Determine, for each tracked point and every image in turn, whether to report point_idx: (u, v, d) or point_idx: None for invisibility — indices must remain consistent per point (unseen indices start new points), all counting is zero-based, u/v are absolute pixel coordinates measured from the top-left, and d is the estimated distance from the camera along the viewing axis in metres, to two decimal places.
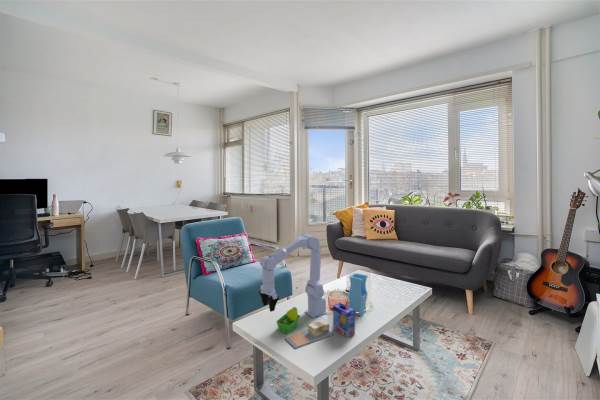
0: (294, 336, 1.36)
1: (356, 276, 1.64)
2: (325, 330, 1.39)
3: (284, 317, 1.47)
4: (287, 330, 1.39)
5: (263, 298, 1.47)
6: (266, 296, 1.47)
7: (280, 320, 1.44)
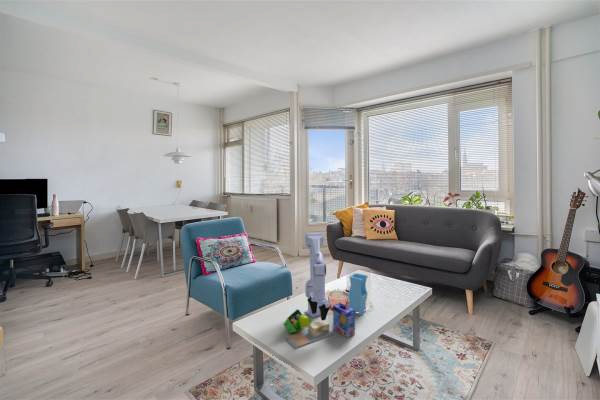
0: (294, 336, 1.36)
1: (356, 276, 1.64)
2: (325, 330, 1.39)
3: (293, 313, 1.45)
4: (291, 331, 1.38)
5: (312, 306, 1.41)
6: (315, 304, 1.42)
7: (290, 316, 1.41)
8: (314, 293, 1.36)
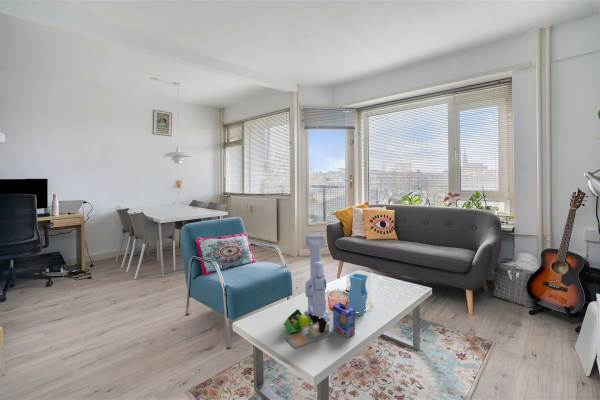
0: (294, 336, 1.36)
1: (356, 276, 1.64)
2: (325, 330, 1.39)
3: (293, 313, 1.45)
4: (291, 331, 1.38)
5: (314, 321, 1.41)
6: (316, 318, 1.42)
7: (290, 316, 1.41)
8: (314, 307, 1.37)
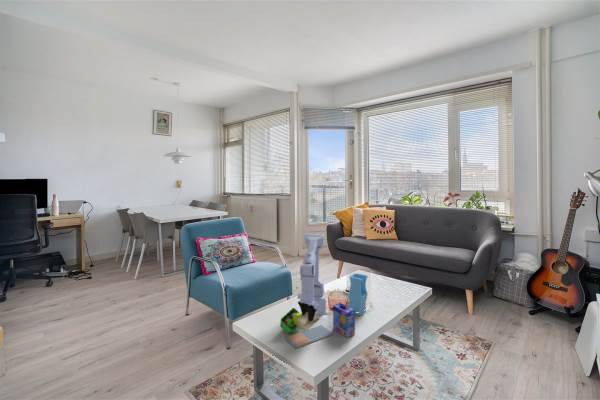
0: (294, 336, 1.36)
1: (356, 276, 1.64)
2: (315, 319, 1.35)
3: (289, 313, 1.44)
4: (287, 331, 1.38)
5: (303, 309, 1.36)
6: (306, 307, 1.37)
7: (284, 317, 1.41)
8: (303, 294, 1.33)
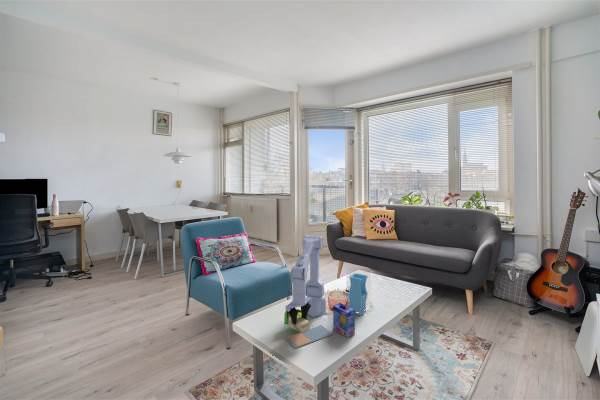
0: (294, 336, 1.36)
1: (356, 276, 1.64)
2: (298, 329, 1.30)
3: (299, 311, 1.46)
4: (285, 321, 1.41)
5: (302, 310, 1.35)
6: (304, 310, 1.34)
7: None
8: None
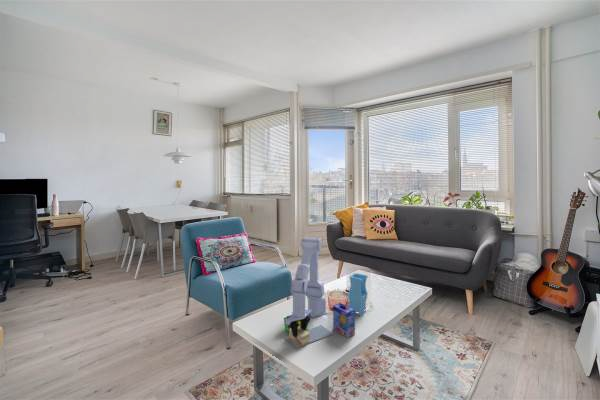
0: None
1: (356, 276, 1.64)
2: (299, 340, 1.31)
3: None
4: (286, 328, 1.42)
5: (301, 323, 1.36)
6: (303, 323, 1.35)
7: None
8: None
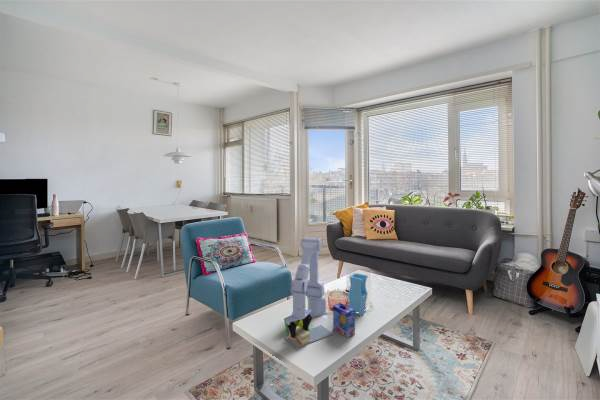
0: None
1: (356, 276, 1.64)
2: (299, 340, 1.31)
3: None
4: (287, 329, 1.41)
5: (303, 322, 1.37)
6: (306, 322, 1.35)
7: None
8: None
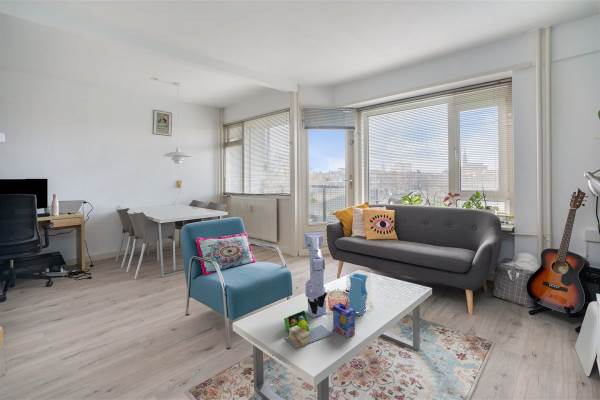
0: None
1: (356, 276, 1.64)
2: (299, 340, 1.31)
3: (298, 313, 1.45)
4: (287, 329, 1.41)
5: (318, 299, 1.47)
6: (321, 298, 1.46)
7: (292, 315, 1.42)
8: None
